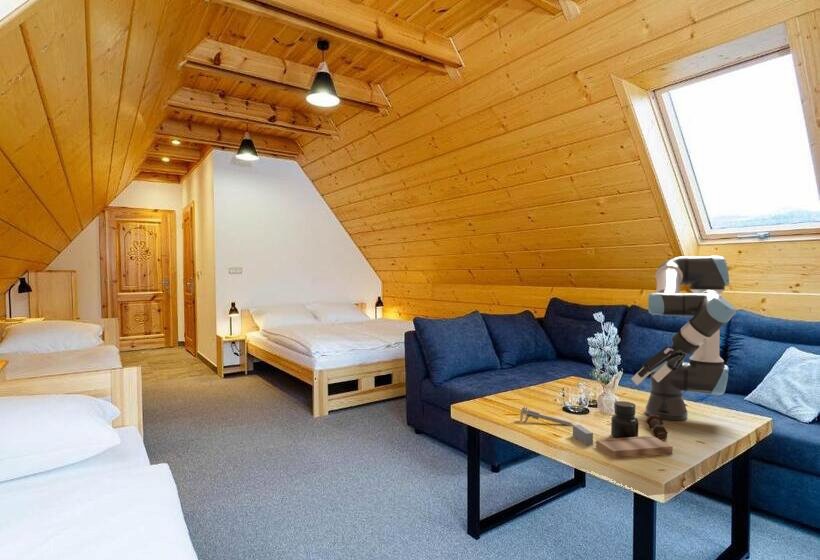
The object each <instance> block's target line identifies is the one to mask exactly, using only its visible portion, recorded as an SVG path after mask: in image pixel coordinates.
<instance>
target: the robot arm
mask: <svg viewBox="0 0 820 560" xmlns="http://www.w3.org/2000/svg"><path fill="white" fill-rule="evenodd" d="M654 277H655V281H656V290H655V292H651V293H649V294H648V297H647V308H648V309H647V310H648V313H649V314H651V315H654V316H655V315H657V316H675V317H677V316H681V317H682V316H683V317H692V318H690V319H689V321H687V322H686V323H685V324H684V325H682V327H681V328H680V330H678V331H677V332H676V333H674V335H673V336H672V337H671V342H672V343H673V344H672V345H670V346H668V345H666V346H664V348H662V349H661V350H660V351H659V352H657V353H655V355H652V357H651V358H649V359H647V360H646V361H645V362H642V364H641V366H642V368H641V369H640V370H639V371H637V372H636V373H635V374H634V375H633V376H632V377H631V378H630V380H632V382H633V383H634V384H635V385H636V386H638V385H640V384H641V383H642V382H643V381H644V380H645V379H646V378H647V377H648V376H649V375H650V389H649V391H650V394H649V397H648V400H647V403H646V405H645V414H646V415H648V417H649V416H650V415H659V417H660V418H661V420H664V421H683V420H684V421H685V420H687V419H688V415H689V414H688V410H687V407H686V404H685V400H684V399H683V398H684V396H683V393H684V392H687V393H697V394H706V395H707V394H708V395H709V396H710V395H711V396H712V395H714V396H715V395H716V396H720V395H724V394H725V392H726V388H727V385H728V378H729V370H730V369H729V365H726V364H725V360H724V359H723V358H722V357H721V356H720V337H721V336H720V334H721V333H720V329H721V328H722V327H724V326H725V325H726V324H727V323H728V322H730V321H731V319H732V317H734V316H735V315H736V313H737V310H736V308H735V307H734V305H733V304H732V303H730V302H729V301H728V300H726V299H725V298H723V296H722V295H721V294H722V293H723V292H725V290H726V289H725V288H726V287H727V286H729V285H730V275H729V268H728V263H727V261H726V258H725V257H724V256H721V255H695V256H693V255H691V256H685V255H683V256H676V257H673V258H670V259H667V260H665V261H664V262H663V263H661V264H660V265H659V266H658V267H657V269H656V271H655V276H654ZM681 286H689V291H691V293H684V292H683V293H681V292H680V291H681ZM688 355H691V356H690V357H689V359H688V361H689V362H687V361H684V360H685V358H686V357H687V356H688Z"/></svg>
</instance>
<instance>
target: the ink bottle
mask: <svg viewBox="0 0 820 560" xmlns="http://www.w3.org/2000/svg"><path fill="white" fill-rule="evenodd" d="M613 411H614V415H612V416H611V417H610V433H611V434H610V435H611V436H612V438H613V439H614V438H627V437H639V420H638V418H637V417H636V403H633V402H629V401H623V400H622V401H621V400H619V401H615V402H614V410H613Z"/></svg>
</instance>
